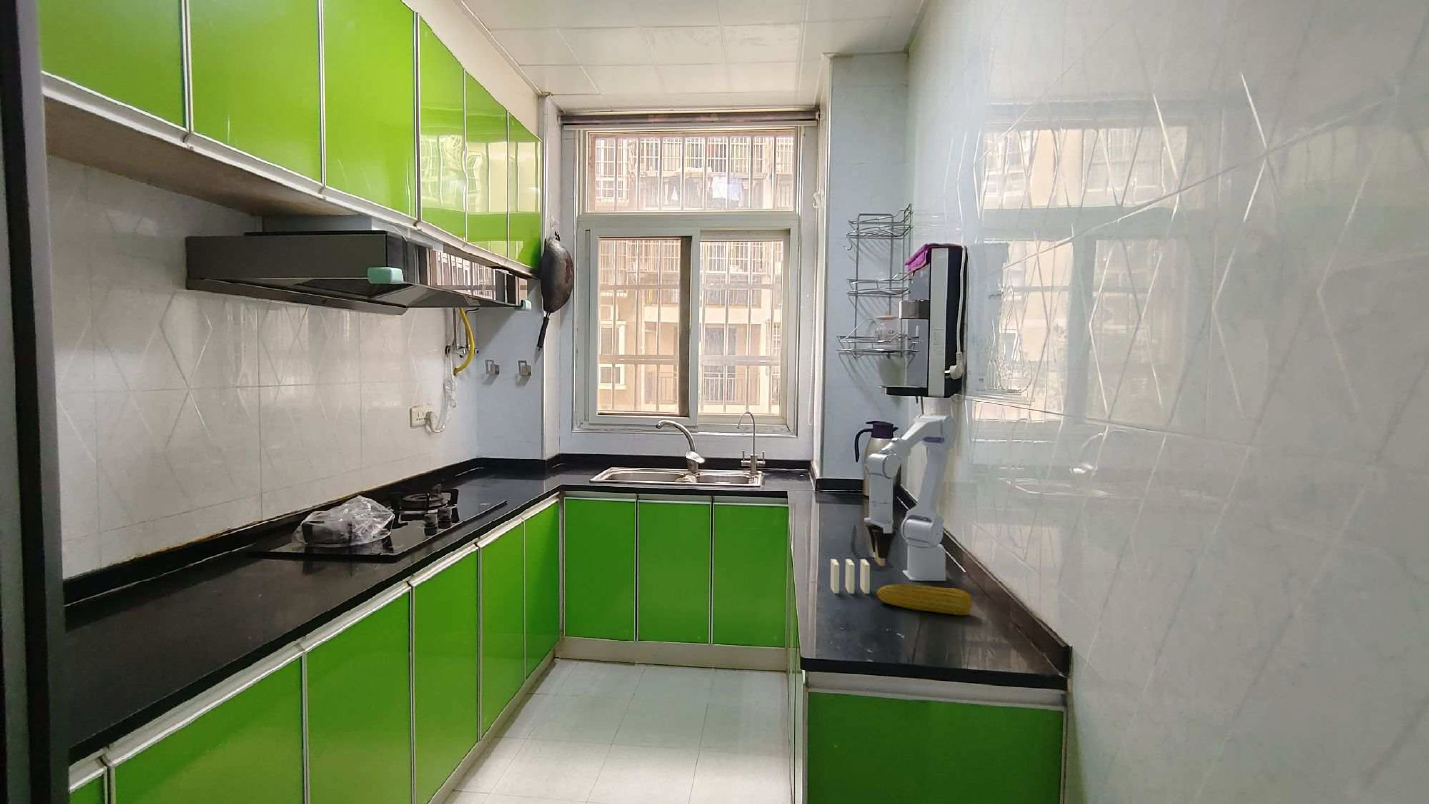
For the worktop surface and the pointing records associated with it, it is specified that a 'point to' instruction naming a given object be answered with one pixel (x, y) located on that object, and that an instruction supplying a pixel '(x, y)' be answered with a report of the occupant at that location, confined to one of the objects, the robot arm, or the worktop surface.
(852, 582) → the domino
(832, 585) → the domino
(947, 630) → the worktop surface
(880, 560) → the domino
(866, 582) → the domino
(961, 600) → the food
